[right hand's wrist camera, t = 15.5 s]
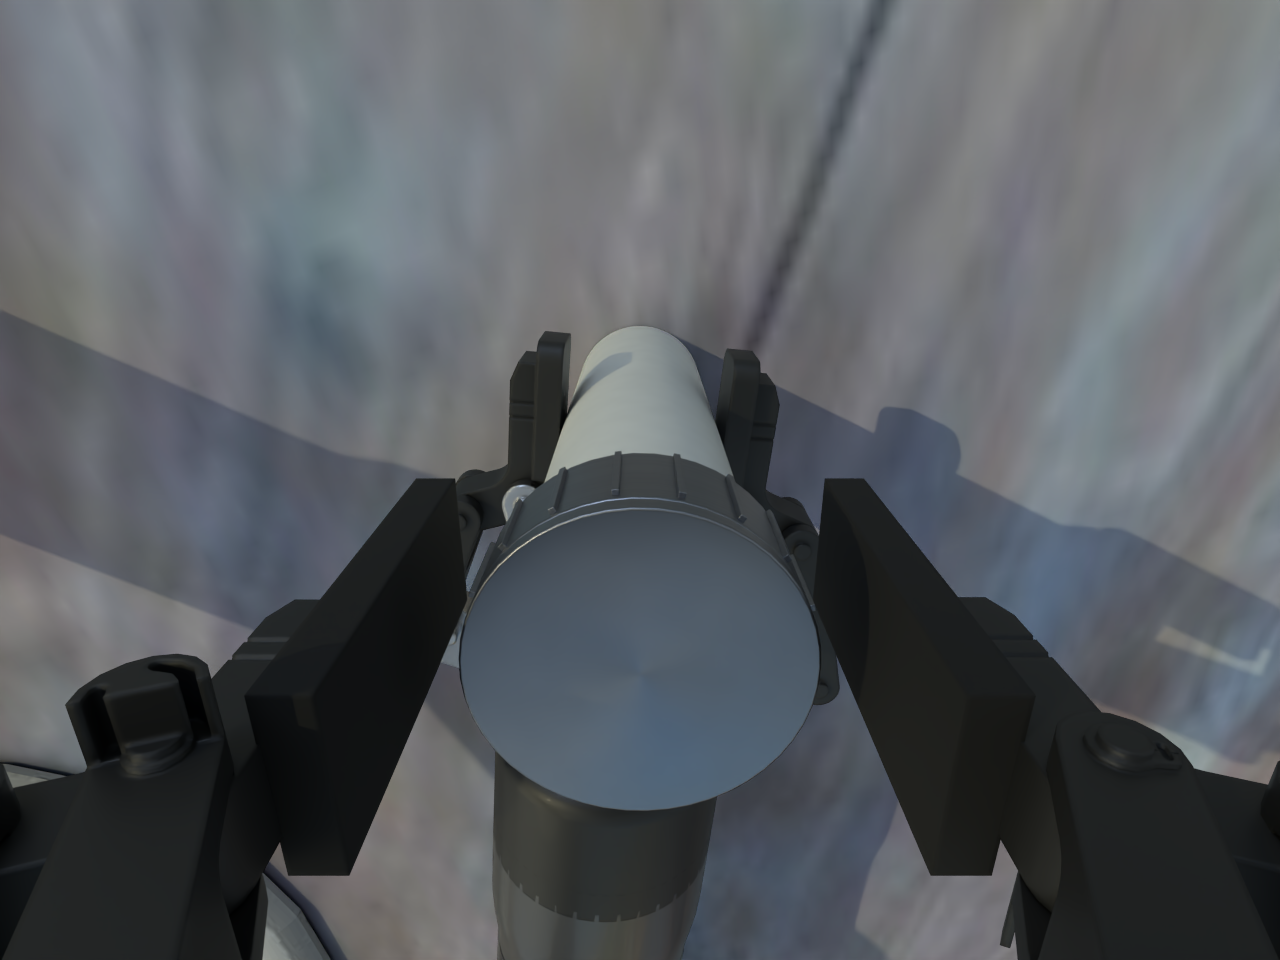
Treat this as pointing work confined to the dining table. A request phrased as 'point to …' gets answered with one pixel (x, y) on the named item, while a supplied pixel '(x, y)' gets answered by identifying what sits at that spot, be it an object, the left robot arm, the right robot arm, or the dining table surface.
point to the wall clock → (288, 934)
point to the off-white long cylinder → (639, 404)
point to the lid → (640, 635)
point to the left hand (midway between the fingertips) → (648, 349)
